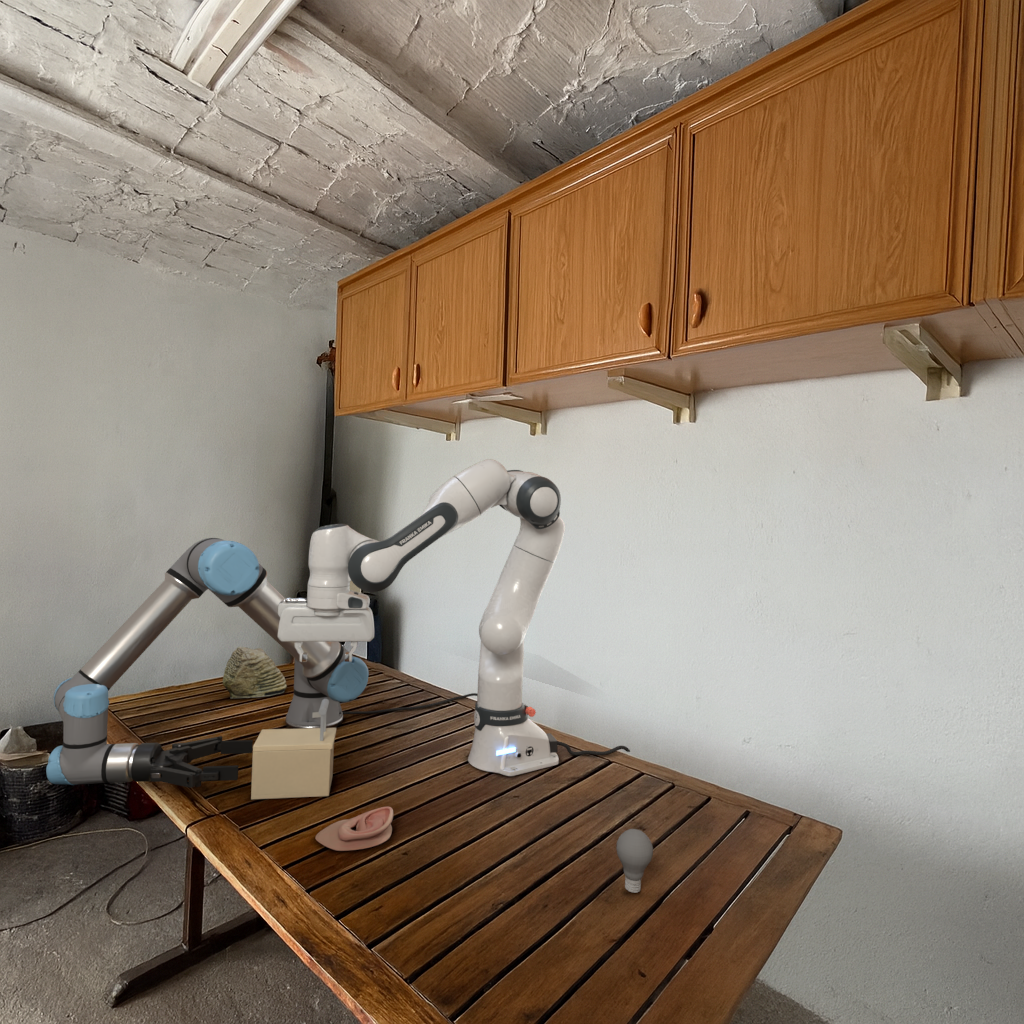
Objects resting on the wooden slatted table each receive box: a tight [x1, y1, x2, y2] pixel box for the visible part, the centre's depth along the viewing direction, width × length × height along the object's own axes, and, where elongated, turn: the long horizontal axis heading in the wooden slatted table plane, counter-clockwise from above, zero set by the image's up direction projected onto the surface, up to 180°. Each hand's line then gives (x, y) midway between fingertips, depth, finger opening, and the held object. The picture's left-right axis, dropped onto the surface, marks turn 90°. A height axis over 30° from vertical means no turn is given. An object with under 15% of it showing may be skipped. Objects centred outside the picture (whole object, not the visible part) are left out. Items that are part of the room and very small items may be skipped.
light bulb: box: [615, 828, 654, 894], centre depth 106 cm, size 6×6×10 cm
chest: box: [250, 744, 335, 800], centre depth 137 cm, size 16×10×10 cm, turn 101°
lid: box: [252, 699, 337, 752], centre depth 137 cm, size 16×10×8 cm, turn 101°
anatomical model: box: [315, 806, 394, 852], centre depth 119 cm, size 13×4×12 cm
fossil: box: [222, 646, 288, 699], centre depth 198 cm, size 9×18×15 cm, turn 132°
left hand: (245, 758), depth 135 cm, fingers open, 13 cm apart
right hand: (326, 661), depth 138 cm, fingers open, 8 cm apart
